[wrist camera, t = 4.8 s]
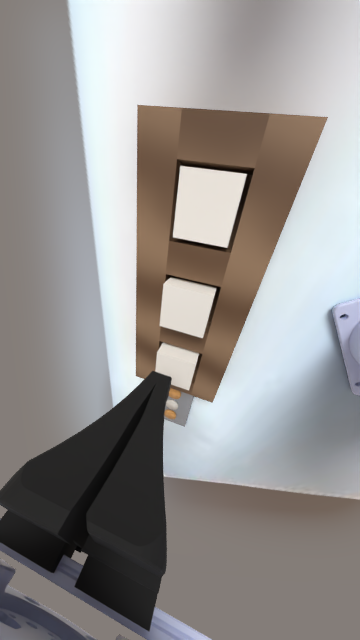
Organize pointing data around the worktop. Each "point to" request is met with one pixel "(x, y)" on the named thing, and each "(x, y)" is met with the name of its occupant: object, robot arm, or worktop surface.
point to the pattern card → (178, 406)
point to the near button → (207, 205)
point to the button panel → (248, 231)
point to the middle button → (186, 306)
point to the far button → (176, 364)
